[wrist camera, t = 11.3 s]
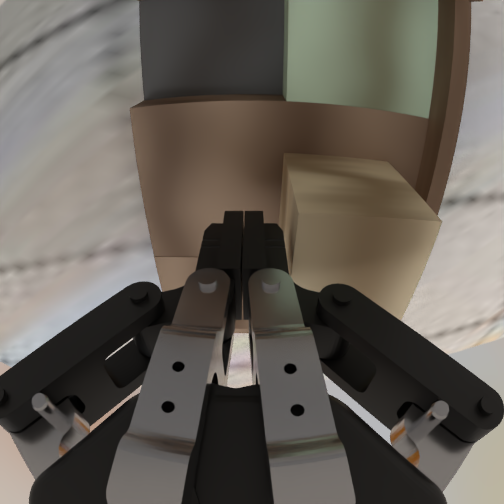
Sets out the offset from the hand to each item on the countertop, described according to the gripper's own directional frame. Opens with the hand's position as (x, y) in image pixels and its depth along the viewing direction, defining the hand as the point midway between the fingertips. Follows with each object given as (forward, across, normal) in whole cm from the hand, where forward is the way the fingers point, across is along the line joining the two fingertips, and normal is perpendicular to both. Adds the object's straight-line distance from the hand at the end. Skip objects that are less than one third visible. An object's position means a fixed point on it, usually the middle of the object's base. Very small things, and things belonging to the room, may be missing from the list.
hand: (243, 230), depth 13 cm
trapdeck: (+7, -2, 0) cm, 7 cm away
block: (+4, -4, +1) cm, 6 cm away
